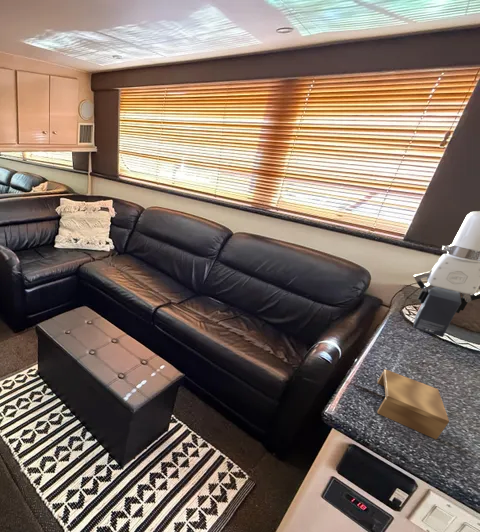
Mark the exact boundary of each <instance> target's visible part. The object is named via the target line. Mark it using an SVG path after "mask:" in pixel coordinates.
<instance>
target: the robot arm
mask: <svg viewBox="0 0 480 532" xmlns="http://www.w3.org/2000/svg"><path fill="white" fill-rule="evenodd" d="M441 250H442V251H445V252H446V253H443V254H442V255H441V256H440V257H439V258H438V259H437V261H436V262H435V264H434V265H433V267H432V268H431V270H429V271H425V272H421V273H416V274H414V275H413V278H414V280H415V282H416V284H417V285H418V286H419V288H420V289H421V290H420V292H419V294H418V296H417V300H418V302H419V304H422V303H424V301H425V299H426V297H427V295H428V290H430V289H431V288H433V287H438V288H443V289H447V290H451V291H455V292H460V294H461V296H462V297H461V305H460V306H459V308H458V309H457V311H456V313H457V314H459V313H460V312H461V311H464V310H465V309H466V306H467V304H468V303H470V302H473V301H476V300H479V299H480V291H479V290H480V210H475V211H470V212H469V213H467V214H466V216H465V218H464V220H463V222H462V224H461V226H460V227H459V230H458V231H457V233H456V235H455V237H454V239H453V241H452V243H451V244H450V245H442V247H441ZM424 278H426V281H427V283H424V282H423V280H422V279H424ZM477 291H478V292H477ZM456 313H455V314H456Z"/></svg>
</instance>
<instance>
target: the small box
mask: <svg viewBox="0 0 480 532" xmlns="http://www.w3.org/2000/svg"><path fill="white" fill-rule="evenodd" d="M461 296H462V295H461V293H460V292H455V291H451V290H447V289H443V288H438V287H433V288H431V289H430V290H428V295H427V297H426V299H425V301H424V303H420V306H419V308H418V310H417V312H416V314H415V316H414V322H413V329H416V330H419V331H422V332H426V333H428V334H432V335H434V336H438V337H440V338H444V337H445V334H446V332H447V330H448V328H449V326H450V324H451V322H452V320H453V319H454V317H455V315H456V311H457V309H458V308H459V306H460V305H461V298H462V297H461Z"/></svg>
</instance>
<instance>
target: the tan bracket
mask: <svg viewBox="0 0 480 532" xmlns="http://www.w3.org/2000/svg"><path fill="white" fill-rule="evenodd" d="M377 385H380V386H382V387H384V395H385V397H384V398H383V400H382V402H381V404H380V406H379V407H378V408H377V414H378V415H380V416H382V417H385V418H386V419H390V420H392V421H394V422H395V423H398V424H400V425H402V426H405V427H407V428H409V429H412V430H414V431H416V432H418V433H421V434H423V435H425V436H427V437H429V438H432V439H434V440H438V438H440V436H441V434H442V433H443V431H444V430H445V428H446V427H447V425H448V424H449V423H450V418H449V416H448V413H447V411H446V408H445V404H444V402H443V399H442V396H441V393H440V391H439V388H436V387H434V386H431V385H428V384H426V383H423V382H420V381H417V380H415V379H412V378H410V377H407V376H404V375H402V374H399V373H396V372H395V371H394V372H393V371H391V370H389V369H386V368H384V369H383V371H382V372H381V375H380V376H379V378H378V380H377Z"/></svg>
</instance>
